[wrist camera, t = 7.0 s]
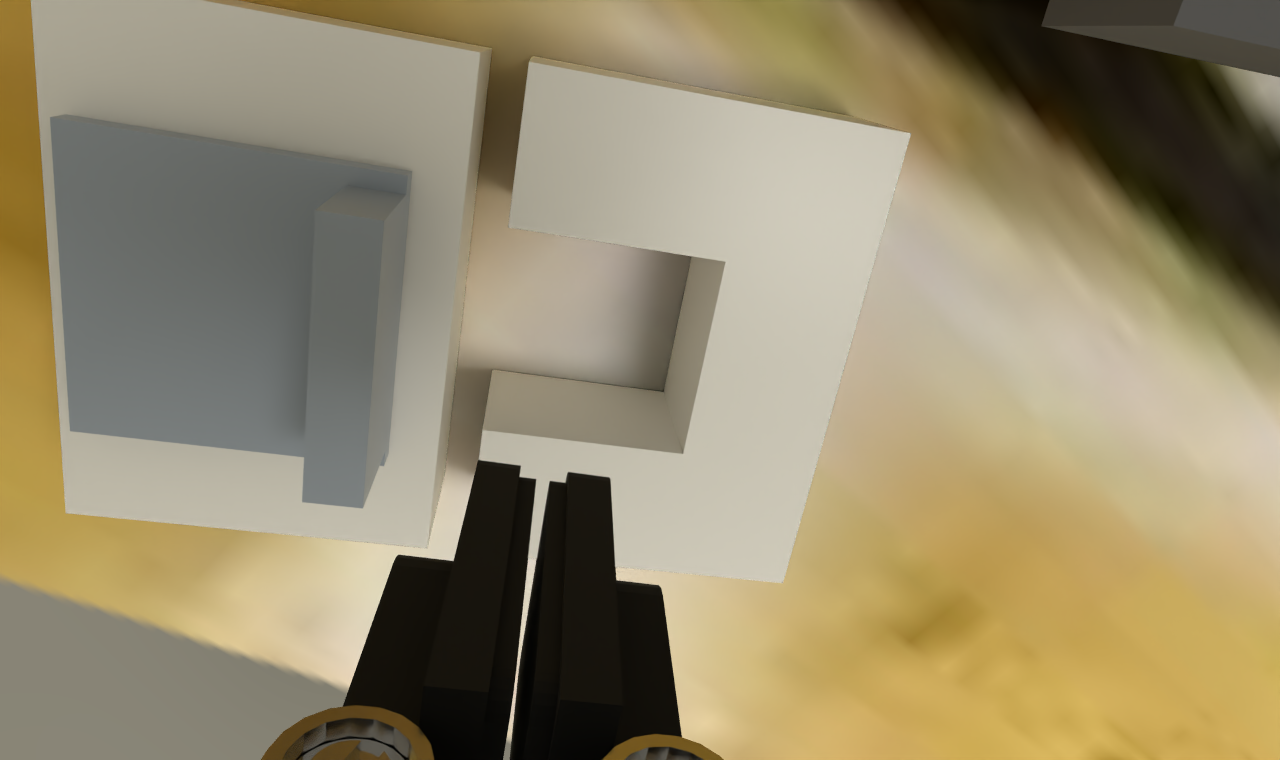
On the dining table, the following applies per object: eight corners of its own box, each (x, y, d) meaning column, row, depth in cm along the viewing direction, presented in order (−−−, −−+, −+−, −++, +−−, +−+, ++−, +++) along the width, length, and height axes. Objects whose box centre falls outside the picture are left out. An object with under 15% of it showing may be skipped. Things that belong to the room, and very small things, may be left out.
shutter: (412, 171, 18) (385, 198, 15) (388, 454, 21) (361, 525, 18) (66, 114, 17) (-34, 132, 14) (83, 419, 20) (1, 488, 17)
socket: (852, 116, 23) (911, 133, 19) (751, 507, 27) (783, 583, 23) (124, -22, 20) (28, -33, 16) (138, 439, 24) (65, 512, 21)
